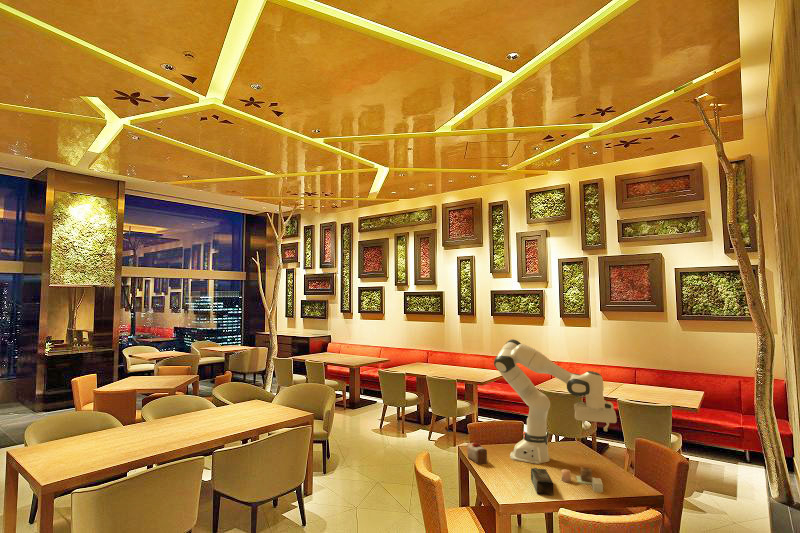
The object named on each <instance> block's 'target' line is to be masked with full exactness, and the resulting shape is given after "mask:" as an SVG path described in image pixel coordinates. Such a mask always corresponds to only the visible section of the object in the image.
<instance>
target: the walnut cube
mask: <svg viewBox="0 0 800 533" xmlns="http://www.w3.org/2000/svg"><path fill="white" fill-rule="evenodd" d="M579 469H580V476H581V480H582V481H586V482H592V477H593V471H592V468H589V467H582V466H581V467H580V468H579Z"/></svg>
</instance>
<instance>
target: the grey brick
mask: <svg viewBox="0 0 800 533" xmlns="http://www.w3.org/2000/svg"><path fill="white" fill-rule="evenodd" d="M591 486H592V489H593V493H600V492H603V493H604V484H603V481H602V479H601V478H600V477H594V478H592V485H591Z"/></svg>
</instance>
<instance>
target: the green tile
mask: <svg viewBox="0 0 800 533" xmlns="http://www.w3.org/2000/svg"><path fill="white" fill-rule="evenodd" d="M575 477H576V480H577V484H580V485H581V484H583V485H591V486H592V482H586V481H582V480H581V475H576V476H575ZM592 478H595V477H593V476H592Z"/></svg>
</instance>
